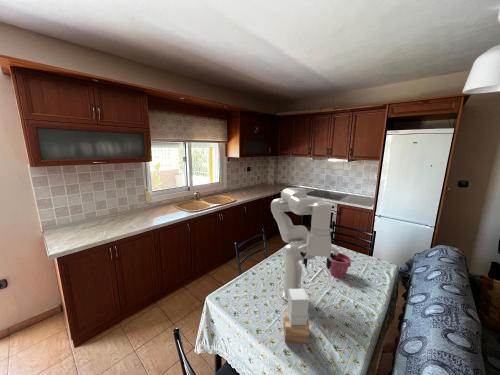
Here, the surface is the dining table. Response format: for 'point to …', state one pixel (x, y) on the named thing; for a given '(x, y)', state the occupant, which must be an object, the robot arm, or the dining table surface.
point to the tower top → (296, 328)
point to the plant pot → (340, 265)
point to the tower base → (295, 338)
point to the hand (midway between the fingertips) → (316, 266)
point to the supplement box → (297, 307)
